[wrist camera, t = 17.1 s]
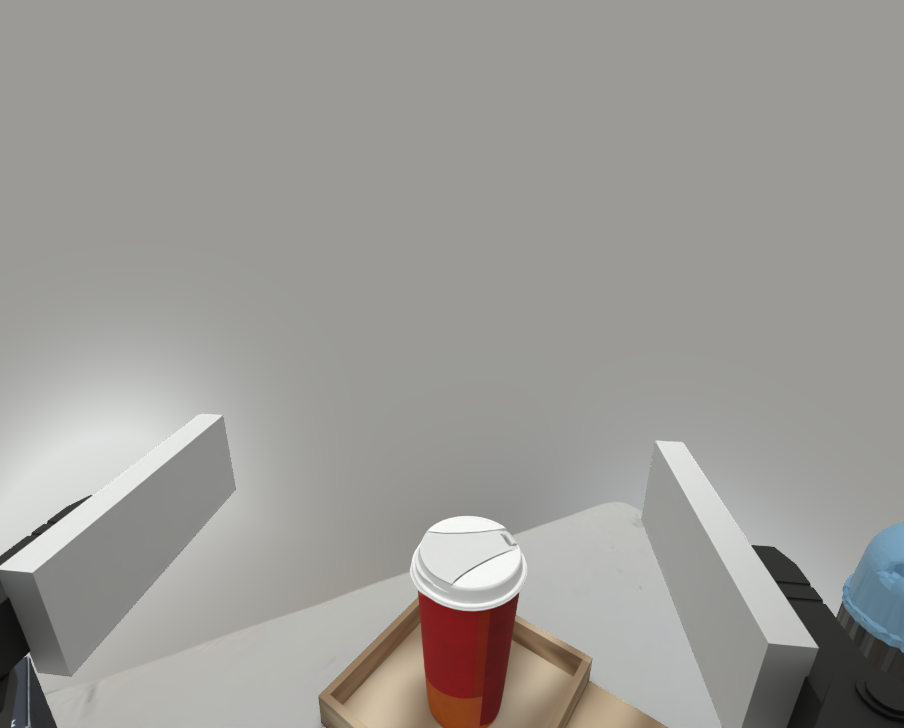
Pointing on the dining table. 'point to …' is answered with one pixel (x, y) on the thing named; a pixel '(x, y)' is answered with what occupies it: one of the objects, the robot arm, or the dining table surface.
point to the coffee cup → (467, 616)
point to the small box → (30, 700)
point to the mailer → (524, 697)
